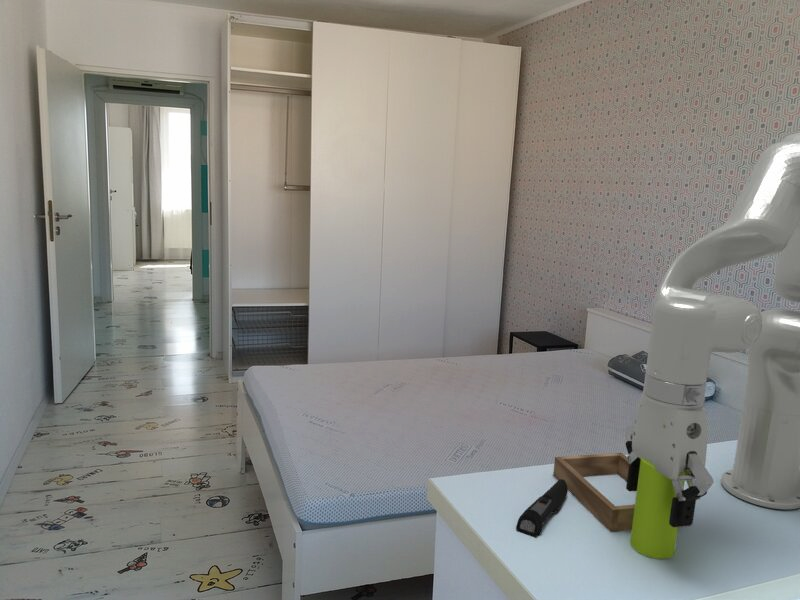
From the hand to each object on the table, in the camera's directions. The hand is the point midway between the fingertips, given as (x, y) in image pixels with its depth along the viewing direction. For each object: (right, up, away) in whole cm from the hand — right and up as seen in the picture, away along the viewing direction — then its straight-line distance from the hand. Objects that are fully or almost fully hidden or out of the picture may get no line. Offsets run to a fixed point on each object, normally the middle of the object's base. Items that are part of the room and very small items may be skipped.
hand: (657, 506), depth 88 cm
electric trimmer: (-14, -5, +10) cm, 18 cm away
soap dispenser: (0, -7, +1) cm, 7 cm away
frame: (-1, -4, +15) cm, 16 cm away
